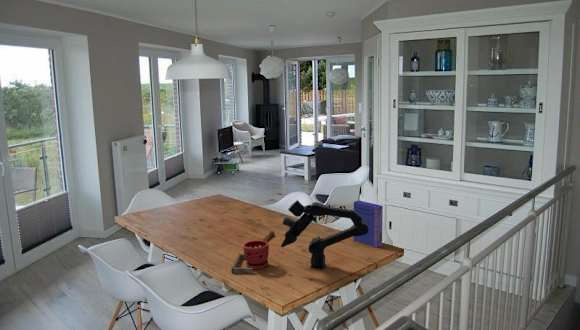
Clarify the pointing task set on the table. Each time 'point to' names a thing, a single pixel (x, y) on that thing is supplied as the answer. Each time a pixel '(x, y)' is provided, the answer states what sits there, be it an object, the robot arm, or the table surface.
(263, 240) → the primitive tool
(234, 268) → the walnut corral
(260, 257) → the plant pot
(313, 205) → the robot arm
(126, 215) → the table surface
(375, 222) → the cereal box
